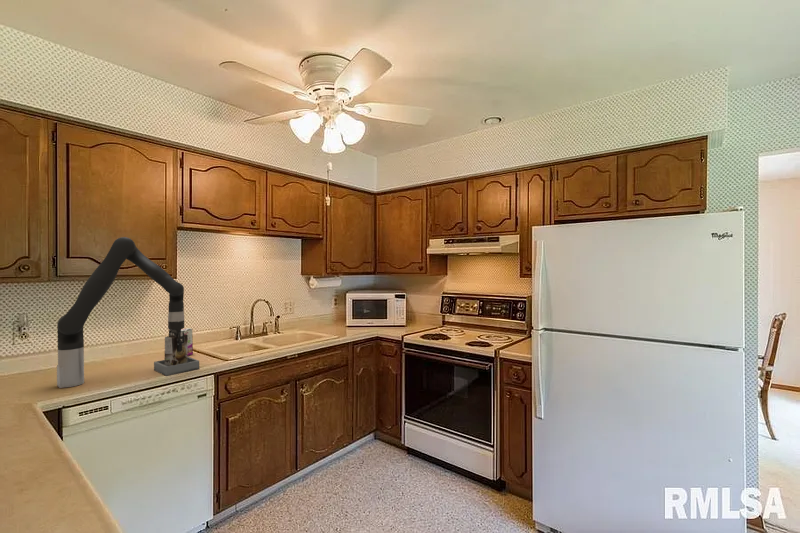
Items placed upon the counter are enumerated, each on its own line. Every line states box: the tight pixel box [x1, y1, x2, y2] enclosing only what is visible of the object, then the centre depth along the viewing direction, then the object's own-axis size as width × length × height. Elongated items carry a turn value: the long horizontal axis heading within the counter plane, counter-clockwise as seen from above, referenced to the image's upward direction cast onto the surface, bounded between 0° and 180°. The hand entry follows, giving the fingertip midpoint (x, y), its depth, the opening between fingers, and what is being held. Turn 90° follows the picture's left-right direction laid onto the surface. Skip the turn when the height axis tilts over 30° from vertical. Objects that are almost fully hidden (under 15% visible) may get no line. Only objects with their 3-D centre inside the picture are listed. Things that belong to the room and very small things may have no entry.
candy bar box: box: [181, 327, 194, 357], centre depth 229 cm, size 11×5×16 cm, turn 171°
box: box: [153, 356, 200, 377], centre depth 201 cm, size 16×17×4 cm
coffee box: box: [163, 334, 188, 366], centre depth 200 cm, size 9×6×16 cm
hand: (176, 350), depth 200 cm, fingers closed on coffee box, 8 cm apart
